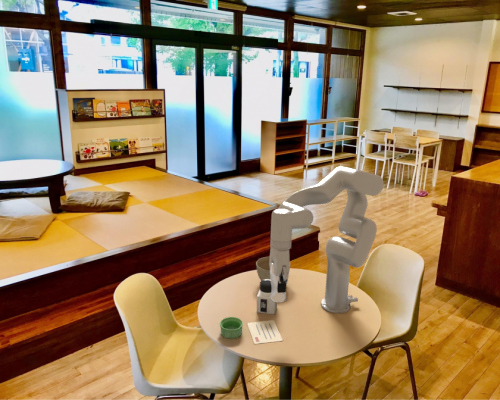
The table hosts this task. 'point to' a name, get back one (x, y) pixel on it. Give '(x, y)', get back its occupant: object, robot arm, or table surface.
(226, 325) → the ramekin
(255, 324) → the letter
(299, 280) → the table surface
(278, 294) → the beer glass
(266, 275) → the planter bowl
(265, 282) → the container
